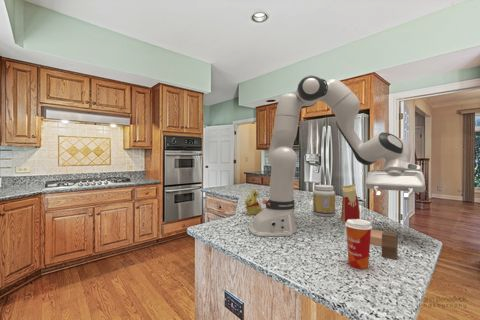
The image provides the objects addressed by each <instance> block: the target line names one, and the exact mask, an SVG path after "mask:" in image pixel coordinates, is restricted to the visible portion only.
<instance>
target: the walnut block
mask: <svg viewBox="0 0 480 320" xmlns="http://www.w3.org/2000/svg"><path fill="white" fill-rule="evenodd" d="M398 234H399V233H397V232H391V231H387V230H384V232H383V233H382V246H381V257H382V258H386V259H389V260H394V261H397V260H396V259H397V258H398V254H399V251H398V250H399V248H398V245H399V243H398V240H399V235H398Z"/></svg>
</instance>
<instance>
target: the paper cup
mask: <svg viewBox="0 0 480 320" xmlns="http://www.w3.org/2000/svg"><path fill="white" fill-rule="evenodd" d="M344 225H345V226H346V228H345V229H346V243H347V259H348V265H349V266H350V267H352V268H354V269H358V270H365V269H368V268H369V262H370V247H371V244H370V236H371V229H373V226H372V223H371V222H370V221H369V220H365V219H361V218H360V219H356V220H355V219H351V220H350V219H348V220H347V223H344Z"/></svg>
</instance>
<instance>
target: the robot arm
mask: <svg viewBox="0 0 480 320" xmlns="http://www.w3.org/2000/svg"><path fill="white" fill-rule="evenodd" d="M297 85H298V86H297V89H296V90H295V91H294V92H292V93H289V92H287V93H284V94H282V95H280V97H279V100H278V102H277V106H276V110H275V114H274V122H273V130H272V135H271V139H270V145H269V148H268V154H267V162H268V165H269V166H271V170H270V180H269V199H268V200H266V199H263V200H262V204H263V205H265V208H263V209H262V211H261V212H260V213H258V214H256V215H254V219H253V224H250V225H249V226H248V231H249V232H250V233H251V234H252V235H253V236H257V237H292V236H293V234H294V233H296V232H297V231H298V228H297V225H296V219H295V206H296V205H295V200H294V183H295V177H296V170H297V163H298V159H299V158H298V155H297V153H296V151H295V150H294V149H293V147H294V144H295V140H296V139H297V136H298V129H299V121H300V112H301V109H307V108H311V107H313V106H314V105H316V104H317V102H323V103H324V104H326V105H327V107H328V108H329V109H330V110H331V112H333V114H334V116H335V118H336V119H335V120H336V121H335V123H336V127H337V129H338V131H339V133H340V134H341V135H342V137H343V138H344V140H345V142H346V143H347V145H348V147H349V148H350V149H351V151H352V153H353V156H354V158H355V159H356V161H358V163H360V164H362V165H365V166H371V165H373V164H374V163H376V162H378V161H380V160H382V159H384V160H385V162H384V166H383V169H372V170H370V171H368V172H367V175H366V179H365V187H366V188H367V189H369V190H374V192H375V197H376V198H381V197H382V193H381V190H382V191H399V192H407V193H404V196H403V198H404V199H403V200H406V201H407V200H408V201H410V197H412V195H414V193H424V192H425V191H426V189H427V188H426V177H425V175H424V173H423V169H422V166H421V165H419V164H413V163H410V161H411V153H412V152H411V145H410V143H409V141H408V140H406V139H404V138H401V137H397V136H396V135H394V134H392V133H390V132H381V133H378V134H377V135H375V136H374V137H372V138H370V139H369V140H367V141H365V142H363V141H362V140H361V138H360V137H359V135H358V134H357V132H356V130H355V129H354V121H355V119H356V118H357V116H358V115H359V111H360V108H361V102H360V100H359V98H358V96H357V95H356V94H355V93H354V92H353V91H352V90H351V89H350V87H348V86H347V85H346V84H344V83H343V82H342V81H341V80H339V79H337V78H330V79H328V80H326V79H324V78H320V77H319V76H315V75H307V76H305V77H303V78H302V79H301V80H300V81H299V83H298V84H297Z"/></svg>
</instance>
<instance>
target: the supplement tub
mask: <svg viewBox="0 0 480 320" xmlns="http://www.w3.org/2000/svg"><path fill="white" fill-rule="evenodd" d="M334 189H335V188H334V185H332V184H331V185H330V184H314V190H313V191H312V193H313V194H312V195H313V196H312V198H313V200H312V204H313V205H312V207H313V208H312V211H313V214H314V215H316V216H317V217H318V216H319V217H324V218H325V217H326V218H327V217H334V216H335V214H336V191H335V190H334Z"/></svg>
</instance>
